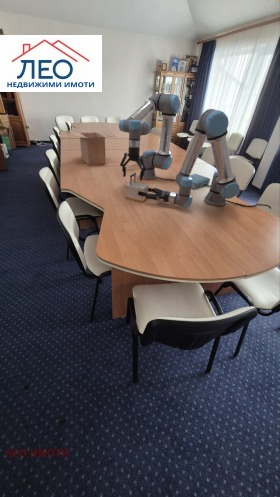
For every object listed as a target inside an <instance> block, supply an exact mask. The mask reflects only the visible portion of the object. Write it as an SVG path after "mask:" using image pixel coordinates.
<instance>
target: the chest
mask: <svg viewBox="0 0 280 497" xmlns="http://www.w3.org/2000/svg"><path fill="white" fill-rule="evenodd" d="M148 188H149V186H148V187H147V188H145V189H144V190H141V189H136V188H132V187H128V186H126V185H125V198H126V199H129V200H133V201H137V202H141V203H144V202H145V201H146V200H147V199H146V197H144V196H140V195H138V191H140V192H145V193H147V194H149V192H148Z"/></svg>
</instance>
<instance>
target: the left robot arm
mask: <svg viewBox="0 0 280 497" xmlns="http://www.w3.org/2000/svg"><path fill="white" fill-rule="evenodd" d="M180 110H181V98H180V96H179V95H178V94H174V93H162V92H160V93H159V92H158V93H155V94H153V95H151V96H149V97H148V98H147V99H146V100H145V101H144V103H143V104H142V105H141V106H140V107H139V108H138V109H137V110H135V111H134V112H133V113H132V114H131V115H129V116H128V117H127V118H126V119H125V118H123V119H120V120H119V122H118V129H119V130H120V132H123V133H128V152H124V153H123V158H122V159H121V161H120V163H119V166H120V167H122V170H121V171H122V176H123V178H125V177H126V176H127V165H128V164H129V162H134V163H135V162H136V164H137V166H138V167H139V168H140V172H139V179H140V180H139V181H143V180H146V181H154V180H156V179H160V180H165V181H173V182H174V181H175V182H176V179H173V178H163V177H159V176H157V174H156V169H160V170H163V171H167V170H169V169H170V168H171V166H172V164H173V156H172V153H171V151H170V150H171V149H170V148H171V142H172V134H173V126H174V119H175V118H176V117H177V114H179V112H180ZM154 112H160V115H161V117H162V121H161V129H160V139H159V147H158V150H153V149H151V150H150V149H149V150H145V151H143V152H142V155H140V152H141V150H140V149H141V137H142V136H147V135H149V134H150V133H151V131H152V127H151V124H150V123H149V122H147V121H143V120H145V119H146V118H147V117H148V116H149V115H150V114H153V113H154ZM139 158H140V159H141V162H142V164H141V162H140V160H139ZM203 186H204V187H209V188H210V187H211V185H209V184H206V185H203ZM240 191H241V192H249V193H251V190H249V189H240V190H239V192H240Z"/></svg>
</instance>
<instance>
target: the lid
mask: <svg viewBox="0 0 280 497" xmlns="http://www.w3.org/2000/svg"><path fill="white" fill-rule="evenodd" d="M136 176H137V172H134V173H132V174H130V176H129V177H130V180H129V182H128V183H126V184H125V187H126V186H128V187H132V188H136V189H141V190H144V189H145V188H147V187H148V188H149V187H150V186H149V184H146V183H141V182H138V181H136Z"/></svg>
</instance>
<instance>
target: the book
mask: <svg viewBox="0 0 280 497" xmlns="http://www.w3.org/2000/svg"><path fill="white" fill-rule="evenodd" d="M189 177H190V178H192V180H193V181H192V187H191V189H192V190H195V189H198V188H200V187H203V186H204V185H209V184H210V182H211V178H209V177H207V176H204V175H201V174H197V173H193V174H190V175H189Z"/></svg>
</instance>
